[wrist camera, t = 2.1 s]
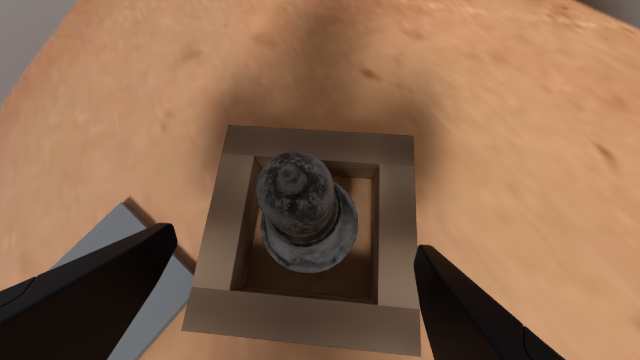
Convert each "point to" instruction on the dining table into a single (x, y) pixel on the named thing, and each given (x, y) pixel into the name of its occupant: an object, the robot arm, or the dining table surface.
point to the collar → (297, 307)
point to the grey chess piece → (304, 213)
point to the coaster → (163, 298)
